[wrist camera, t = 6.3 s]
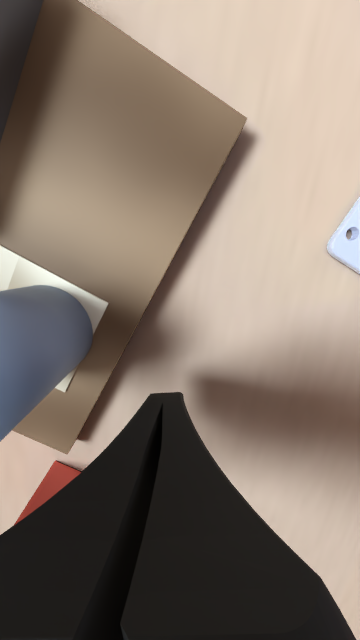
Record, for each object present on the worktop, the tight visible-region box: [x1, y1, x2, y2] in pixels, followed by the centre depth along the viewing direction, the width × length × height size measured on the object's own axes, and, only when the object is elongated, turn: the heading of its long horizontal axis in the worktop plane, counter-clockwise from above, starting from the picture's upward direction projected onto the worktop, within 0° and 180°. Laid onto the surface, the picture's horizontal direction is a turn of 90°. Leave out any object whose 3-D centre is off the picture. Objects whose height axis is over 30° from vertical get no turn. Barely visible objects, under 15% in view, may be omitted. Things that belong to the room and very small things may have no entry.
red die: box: [14, 461, 81, 525], centre depth 12 cm, size 4×4×4 cm
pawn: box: [0, 285, 93, 441], centre depth 8 cm, size 4×4×5 cm
